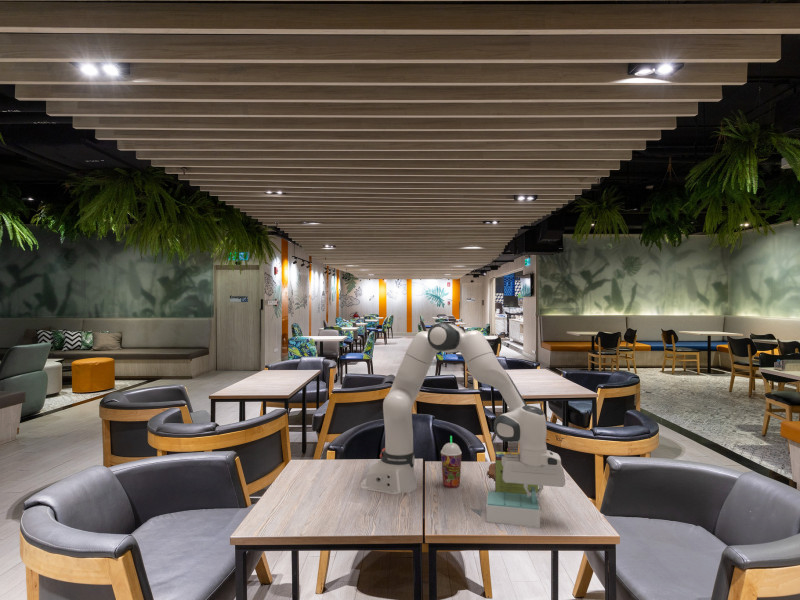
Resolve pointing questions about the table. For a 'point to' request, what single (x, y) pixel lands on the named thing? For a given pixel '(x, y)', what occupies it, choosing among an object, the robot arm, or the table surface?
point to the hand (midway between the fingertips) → (533, 497)
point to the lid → (513, 500)
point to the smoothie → (451, 464)
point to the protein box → (503, 486)
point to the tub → (513, 516)
